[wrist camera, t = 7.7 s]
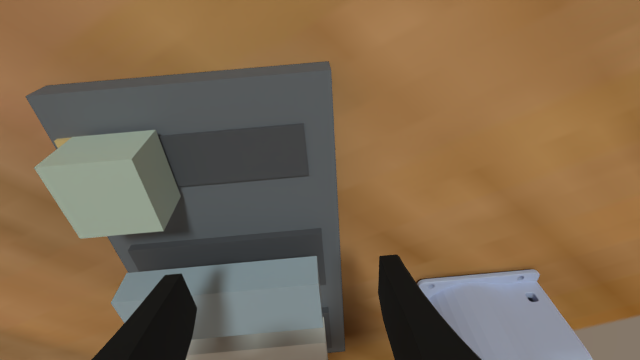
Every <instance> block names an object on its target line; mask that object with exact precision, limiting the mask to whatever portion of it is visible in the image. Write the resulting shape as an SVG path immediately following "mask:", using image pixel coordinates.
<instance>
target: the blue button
mask: <svg viewBox="0 0 640 360" xmlns="http://www.w3.org/2000/svg"><path fill="white" fill-rule="evenodd" d="M181 273H182V275H183V278H184V280H185V282H186V284H187V286H188V289H189V291H190V293H191V295H192V298H193V300H194V302H195V304H196V306H197V314H196V320H195V326H194V331H193V336H192V340H194V339H205V338H216V337H226V336H237V335H248V334H259V333H270V332H281V331H292V330H303V329H314V328H323V316H322V301H321V291H320V282H319V272H318V263H317V256H310V257H299V258H287V259H276V260H265V261H254V262H243V263H232V264H221V265H210V266H199V267H188V268H176V269H165V270H154V271H143V272H132V273H127V274H126V276H125V278H124V279H123V281H122V283H121V285H120V287H119V289H118V290H117V292H116V294H115V296H114V298H113V300H112V302H111V304H112V305H113V307H114V308H115V310H116V311H117V313H118V314H119V316H120V317H121V319H122V320H123V322H124V323H125V322H126V321H127V320H128V319H129V317H130V316H131V315H132V314H133V313H134V312H135V310H136V309H137V308H138V307H139V306H140V304H141V303H142V302H143V301H144V299H145V298H146V297H147V296H148V295H149V293H150V292H151V291H152V290H153V289H154V287H155V286H156V285H157V284H158V283H159V281H160V280H161V279H162V278H163V277H164V276H165V275H170V274H181Z"/></svg>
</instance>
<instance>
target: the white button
mask: <svg viewBox="0 0 640 360" xmlns="http://www.w3.org/2000/svg"><path fill="white" fill-rule="evenodd" d="M186 360H328V353H327V342H326V332H325V323H324V317H323V328H314V329H303V330H292V331H281V332H270V333H259V334H248V335H237V336H226V337H216V338H205V339H194V340H191V343H190V347H189V350H188V353H187V357H186Z"/></svg>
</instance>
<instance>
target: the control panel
mask: <svg viewBox="0 0 640 360" xmlns="http://www.w3.org/2000/svg"><path fill="white" fill-rule="evenodd" d="M26 98H27V100H28V102H29V103H30V105H31V107H32V108H33V110H34V112H35V114H36V115H37V117H38V119H39V120H40V122H41V124H42V125H43V127H44V129H45V131H46V132H47V134H48V136H49V137H50V139H51V141H52V143H53V144H54V146H55V148H56V149H58V148H59V147H60V146H62V145H63V144H64V143H65V142H67V141H68V140H69V139H70V138H72V137H78V136H89V135H101V134H112V133H124V132H135V131H147V130H156V132H157V135H158V137H159V140H160V143H161V145H162V148H163V150H164V153H165V156H166V158H167V161H168V164H169V166H170V169H171V172H172V174H173V177H174V179H175V182H176V185H177V187H178V190H179V193H180V195H181V197H180V199H179V201H178V203H177V205H176V207H175V209H174V211H173V213H172V215H171V217H170V219H169V221H168V223H167V225H166V228H165V230H164V231H159V232H148V233H137V234H125V235H114V236H107V237H108V238H109V240H110V242H111V244H112V245H113V247H114V249H115V250H116V252H117V254H118V256H119V257H120V259H121V261H122V262H123V264H124V266H125V268H126V269H127V271H128V273H132V272H143V271H154V270H165V269H176V268H188V267H199V266H210V265H221V264H232V263H243V262H254V261H265V260H276V259H287V258H299V257H310V256H317V263H318V272H319V282H320V291H321V301H322V316H323V317H324V323H325V332H326V342H327V353H331V352H342V351H345V338H344V318H343V298H342V278H341V258H340V238H339V218H338V199H337V179H336V159H335V139H334V119H333V99H332V79H331V68H330V65H329V61H328V62H316V63H304V64H293V65H281V66H269V67H258V68H246V69H235V70H223V71H211V72H200V73H188V74H177V75H165V76H153V77H142V78H130V79H118V80H107V81H95V82H84V83H72V84H60V85H49V86H45V87H43V88H41V89H39V90H37V91H35V92H33V93H31V94H29V95H27V96H26Z"/></svg>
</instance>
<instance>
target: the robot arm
mask: <svg viewBox="0 0 640 360" xmlns="http://www.w3.org/2000/svg"><path fill="white" fill-rule="evenodd" d="M538 278H539V273H538V272H537V270H534V269H531V270H520V271H509V272H498V273H487V274H476V275H465V276H454V277H442V278H431V279H422V280H420V281H419V282H418V283H416V282H415V281H414V279H413V278H412V276H411V275H410V273H409V272H408V270H407V269H406V267H405V266H404V264H403V262H402V261H401V259H400V257H399V256H398V255H387V256H380V259H379V286H378V294H379V300H380V305H381V310H382V316H383V321H384V324H385V328H386V331H387V334H388V338H389V341H390V345H391V348H392V351H393V355H394V358H395V360H593V359H592V357H591V356H590V354H589V352H588V351H587V349H586V348H585V346H584V345H583V344H582V342H581V341H580V339H579V338H578V337H577V335H576V334H575V333H574V331H573V330H572V328H571V327H570V326H569V324H568V323H567V322H566V320H565V319H564V318H563V316H562V315H561V314H560V312H559V311H558V309H557V308H556V307H555V305H554V304H553V303H552V301H551V300H550V299H549V297H548V296H547V294H546V293H545V292H544V290H543V289H542V288H541V286H540V285H539V284H538V282H537V280H538ZM196 314H197V306H196V304H195V302H194V300H193V298H192V295H191V293H190V291H189V289H188V286H187V284H186V282H185V280H184V278H183V275H182V273H181V274H170V275H165V276H164V277H163V278H162V279H161V280H160V281H159V283H158V284H157V285H156V286H155V287H154V289H153V290H152V291H151V292H150V293H149V295H148V296H147V297H146V298H145V299H144V301H143V302H142V303H141V304H140V306H139V307H138V308H137V309H136V310H135V312H134V313H133V314H132V315H131V316H130V317H129V319H128V320H127V321H126V322H125V323H124V324H123V326H122V327H121V328H120V329H119V330H118V331H117V333H116V334H115V335H114V336H113V337H112V338H111V339H110V340H109V341H108V342H107V344H106V345H105V346H104V347H103V348H102V349H101V350H100V351H99V352H98V353H97V354H96V356H95V357H94V358H93V359H92V360H186V357H187V353H188V350H189V347H190V343H191V340H192V336H193V331H194V326H195V320H196Z"/></svg>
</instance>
